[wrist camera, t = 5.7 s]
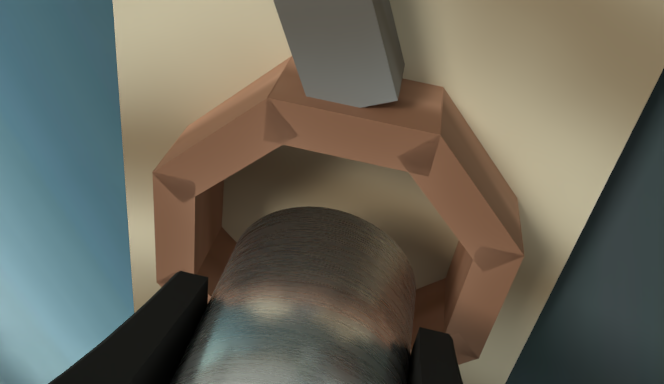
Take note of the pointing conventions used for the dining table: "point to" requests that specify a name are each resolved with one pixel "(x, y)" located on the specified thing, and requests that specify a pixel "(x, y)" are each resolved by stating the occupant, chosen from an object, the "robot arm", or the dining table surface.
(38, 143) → the dining table surface
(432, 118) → the coupling stand
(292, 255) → the cylinder
